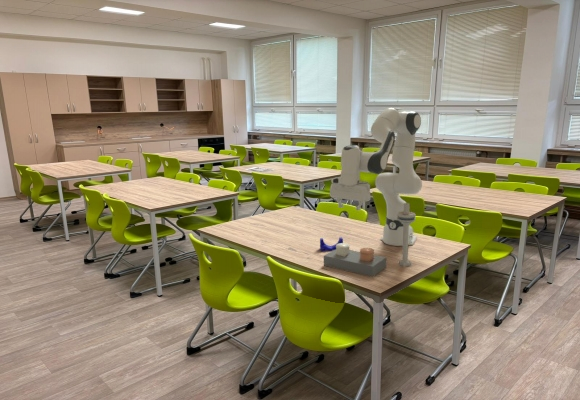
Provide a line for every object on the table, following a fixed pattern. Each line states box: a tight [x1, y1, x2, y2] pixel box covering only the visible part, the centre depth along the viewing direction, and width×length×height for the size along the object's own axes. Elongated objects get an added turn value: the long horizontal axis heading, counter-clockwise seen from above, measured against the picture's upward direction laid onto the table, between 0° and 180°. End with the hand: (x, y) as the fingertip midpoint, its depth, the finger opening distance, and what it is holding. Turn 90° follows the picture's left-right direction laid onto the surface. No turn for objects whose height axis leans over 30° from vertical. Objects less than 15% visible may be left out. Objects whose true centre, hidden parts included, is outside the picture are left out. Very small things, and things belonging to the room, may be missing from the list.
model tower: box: [397, 202, 416, 268], centre depth 195 cm, size 8×8×30 cm
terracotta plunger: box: [359, 247, 375, 262], centre depth 192 cm, size 6×6×6 cm
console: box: [323, 249, 387, 278], centre depth 197 cm, size 14×26×5 cm, turn 53°
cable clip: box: [319, 237, 344, 252], centre depth 222 cm, size 12×4×6 cm, turn 92°
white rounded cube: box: [335, 242, 350, 257], centre depth 200 cm, size 6×6×6 cm
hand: (349, 208), depth 197 cm, fingers open, 8 cm apart
